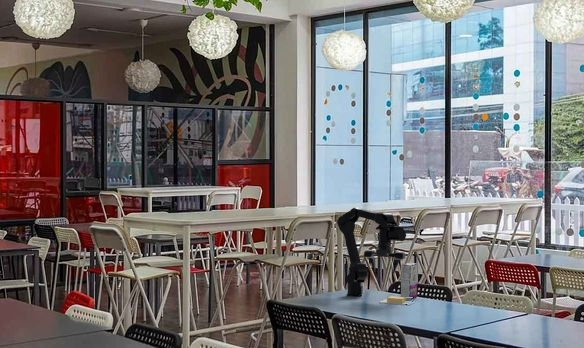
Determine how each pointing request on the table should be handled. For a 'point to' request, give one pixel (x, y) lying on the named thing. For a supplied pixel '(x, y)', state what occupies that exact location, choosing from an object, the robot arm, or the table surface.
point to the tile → (396, 299)
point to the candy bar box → (409, 280)
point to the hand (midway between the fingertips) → (383, 273)
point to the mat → (395, 303)
